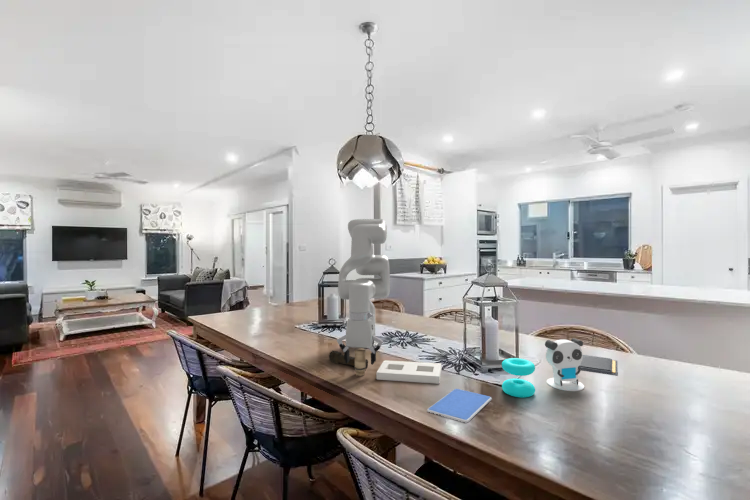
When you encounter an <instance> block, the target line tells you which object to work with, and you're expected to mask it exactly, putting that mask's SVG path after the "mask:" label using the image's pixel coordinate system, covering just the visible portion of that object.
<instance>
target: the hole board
mask: <svg viewBox="0 0 750 500" xmlns="http://www.w3.org/2000/svg"><path fill="white" fill-rule="evenodd" d="M441 377H442V363H441V362H440V363H439V362H438V363H437V362H436V363H435V362H419V361H418V362H417V361H402V360H383V361H382V363H381V364H380V366H379V367H378V369H377V371H376V380H380V381H381V380H382V381H392V382H393V381H394V382H395V381H396V382H410V383H423V384H424V383H425V384H437V385H438V384H440V382H441Z"/></svg>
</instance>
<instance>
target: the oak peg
mask: <svg viewBox="0 0 750 500" xmlns="http://www.w3.org/2000/svg"><path fill="white" fill-rule="evenodd" d="M354 357H355V366H354V372H355V375H356V376H359V377H362V376H365V374H366V373H365V372H366V369H367V368H366V359H367V358H366V348H355V349H354Z"/></svg>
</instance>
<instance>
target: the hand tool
mask: <svg viewBox="0 0 750 500" xmlns="http://www.w3.org/2000/svg"><path fill="white" fill-rule="evenodd" d="M328 360H329V361H330V362H331V363H335V364H337V365H339V364H343V365H348V366H350V367H351V366H352V367H355V356H351V355H350V361H349V362H348V363H345V360H344V353H343V351H342V352H341V351H337V350H331V351H330V352H329V354H328ZM368 366H369V359H367V358H366V369H367V368H368Z"/></svg>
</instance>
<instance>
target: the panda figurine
mask: <svg viewBox="0 0 750 500" xmlns="http://www.w3.org/2000/svg"><path fill="white" fill-rule="evenodd" d="M544 345H545V348H547V349H546V352H545V359H546V361H547V363H548V364H549V365H550V366H552V377H549V378H548V379H546V384H547V385H548V386H549V387H552V388H553V389H557V390H561V391H566V392H567V391H568V392H580V391H583V390H584V389H585V385H584V384H583V383H582V382H581V381H579V374H580V373H581V369H580V367H578V366H579V365H580V364H581V362H582V358H583V355H584V353H583V351H582V347H583V346H584V342H583V341H582V340H580V339H577V338H574V337H572V338H571V339H570V340H569V339H557V340H554V341H553V340H550V339H547V340H546V341H545V343H544Z"/></svg>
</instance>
